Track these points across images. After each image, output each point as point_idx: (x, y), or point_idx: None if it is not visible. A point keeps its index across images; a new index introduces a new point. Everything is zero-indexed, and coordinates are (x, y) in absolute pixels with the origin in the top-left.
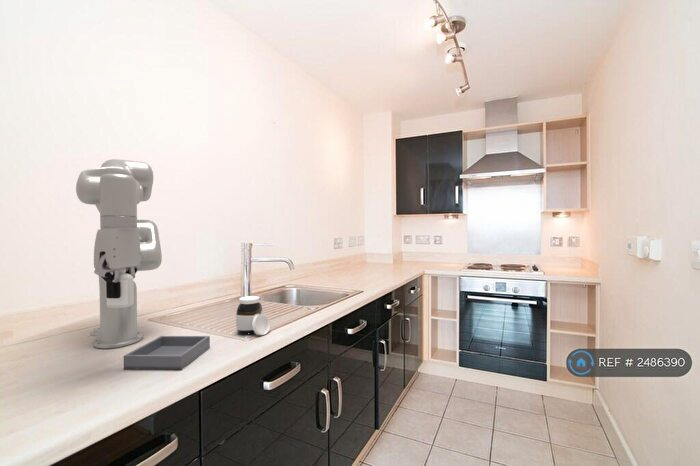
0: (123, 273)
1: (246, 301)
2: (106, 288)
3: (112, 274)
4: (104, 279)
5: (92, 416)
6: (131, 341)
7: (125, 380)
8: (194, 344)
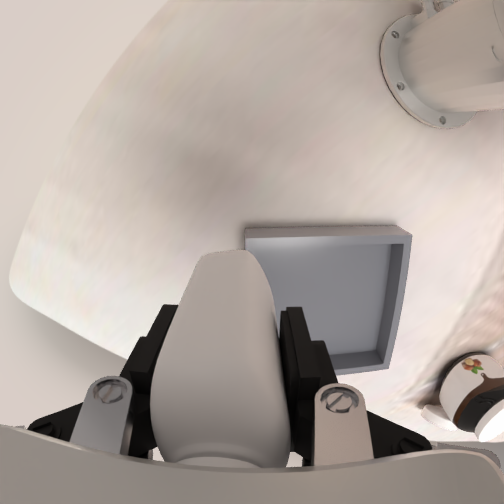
0: None
1: (479, 430)
2: (146, 337)
3: (180, 432)
4: (75, 410)
5: (79, 313)
6: (421, 120)
7: (190, 277)
8: (382, 326)
